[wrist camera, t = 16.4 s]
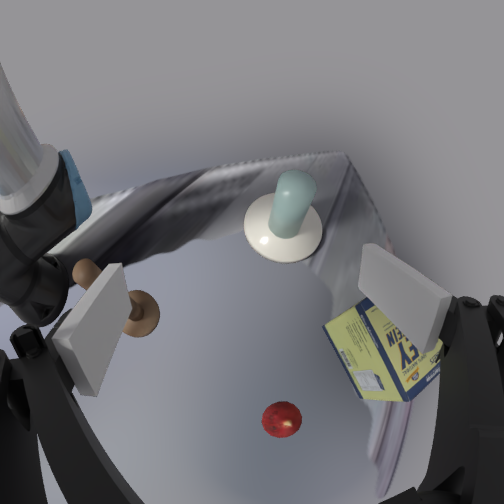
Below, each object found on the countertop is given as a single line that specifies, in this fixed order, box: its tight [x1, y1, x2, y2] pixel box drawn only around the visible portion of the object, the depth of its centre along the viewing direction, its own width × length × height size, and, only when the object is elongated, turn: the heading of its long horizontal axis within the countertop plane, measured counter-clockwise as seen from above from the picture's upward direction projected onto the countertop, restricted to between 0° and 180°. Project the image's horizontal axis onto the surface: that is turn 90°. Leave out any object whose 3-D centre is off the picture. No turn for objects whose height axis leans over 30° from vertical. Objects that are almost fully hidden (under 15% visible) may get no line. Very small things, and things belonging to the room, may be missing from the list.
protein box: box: [322, 297, 443, 402], centre depth 37 cm, size 10×16×16 cm
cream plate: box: [244, 193, 322, 264], centre depth 52 cm, size 15×15×1 cm
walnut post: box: [72, 259, 160, 337], centre depth 34 cm, size 8×8×20 cm
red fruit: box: [262, 402, 302, 438], centre depth 34 cm, size 6×6×8 cm
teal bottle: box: [268, 170, 317, 239], centre depth 46 cm, size 6×6×12 cm
